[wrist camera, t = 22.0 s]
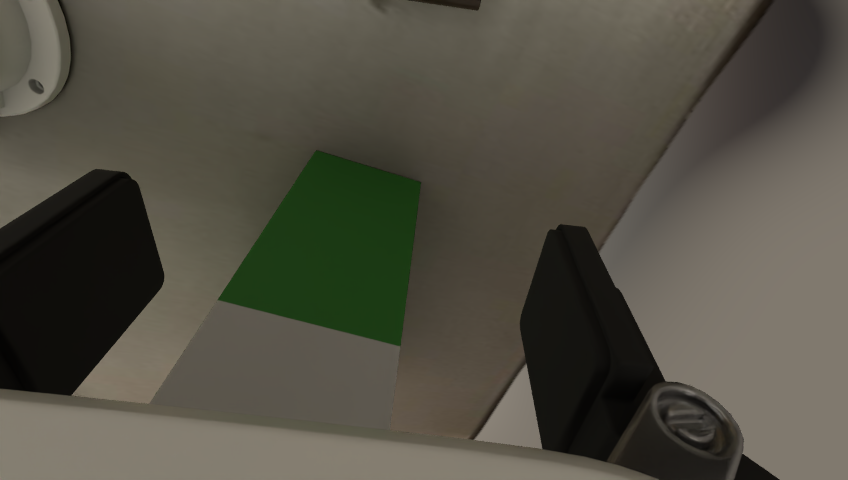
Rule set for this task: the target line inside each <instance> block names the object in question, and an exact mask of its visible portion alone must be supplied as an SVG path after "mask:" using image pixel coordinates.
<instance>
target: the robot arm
mask: <svg viewBox="0 0 848 480" xmlns="http://www.w3.org/2000/svg"><path fill="white" fill-rule="evenodd" d="M70 62H71V50H70V38H69V34H68V29H67V25H66V21H65V17H64V15H63V12H62V10H61V7H60V5H59V2H58V0H0V116H2V117H8V116H15V115H22V114H25V113H28V112H30V111H33V110H36V109H39V108H41V107H42V106H44V105H46V104H47V103H49V102H51V101H52V100H53V99H54V98H55V97H56V96H57V95H58V94H59V93H60V91H61V90H62V88H63V86H64V84H65V82H66V80H67V78H68V74H69V68H70ZM163 282H164V271H163V268H162V264H161V261H160V257H159V254H158V250H157V247H156V243H155V240H154V236H153V233H152V230H151V226H150V223H149V219H148V216H147V212H146V209H145V205H144V202H143V198H142V195H141V191H140V188H139V185H138V183H137V182H136V181H135V180H132V179H131V177H130V176H129V175H128V174H127V173H125V172H119V171H110V170H102V169H95V170H92V171H91V172H89V173H87V174H86V175H84V176H83V177H81V178H80V179H78V180H76V181H75V182H73V183H72V184H70V185H68V186H67V187H65V188H64V189H62V190H61V191H59V192H57V193H56V194H54V195H53V196H51V197H49V198H48V199H46V200H45V201H43V202H42V203H40V204H38V205H37V206H35V207H34V208H32V209H31V210H29V211H27V212H26V213H24V214H23V215H21V216H19V217H18V218H16V219H15V220H13V221H12V222H10V223H8V224H7V225H5V226H4V227H2V228H0V480H779V479H778V478H777V477H775V476H773V475H772V474H771V473H769V472H768V471H767V470H765V469H764V468H762V467H761V466H759V465H758V464H756V463H755V462H754V461H752V460H751V459H749V458H748V457H746V456H745V455H744V454H742V452H743V442H744V439H743V436H742V433H741V430H740V428H739V426H738V424H737V423H736V421H735V420H734V419H733V417H732V415H731V414H730V413H729V412H728V411H727V410H726V409H725V408H724V407H723V406H722V405H721V404H720V403H719V402H717V401H716V400H715V399H713V398H712V397H710V396H709V395H708V394H706V393H705V392H703V391H701V390H698V389H696V388H694V387H692V386H690V385H686V384H682V383H679V382H666V381H665V379H664V377H663V375H662V373H661V371H660V370H659V367H658V365H657V363H656V361H655V359H654V357H653V355H652V353H651V351H650V349H649V347H648V345H647V343H646V341H645V339H644V337H643V335H642V333H641V331H640V329H639V327H638V325H637V323H636V321H635V319H634V317H633V315H632V313H631V311H630V309H629V307H628V305H627V303H626V301H625V299H624V297H623V295H622V293H621V292H620V290H619V289H618V288H616V287H615V285H614V283H613V281H612V279H611V277H610V275H609V273H608V271H607V269H606V267H605V265H604V263H603V261H602V259H601V257H600V255H599V253H598V251H597V248H596V246H595V244H594V242H593V240H592V238H591V236H590V234H589V232H588V230H587V229H586V228H585V227H579V226H571V225H563V224H560V225H559V226H558V227H557V229H556V230H552V229H551V230H549V232H548V234H547V236H546V239H545V242H544V246H543V249H542V252H541V255H540V258H539V261H538V264H537V267H536V270H535V273H534V277H533V280H532V283H531V286H530V289H529V292H528V295H527V298H526V301H525V304H524V308H523V311H522V314H521V319H520V331H521V336H522V341H523V347H524V352H525V357H526V363H527V368H528V374H529V379H530V384H531V390H532V395H533V400H534V406H535V411H536V417H537V421H538V427H539V432H540V438H541V443H542V449H538V448H530V447H522V446H515V445H507V444H499V443H492V442H484V441H476V440H469V439H461V438H453V437H445V436H436V435H427V434H418V433H409V432H401V431H392V430H383V429H374V428H365V427H356V426H347V425H339V424H330V423H321V422H312V421H303V420H294V419H284V418H275V417H266V416H257V415H248V414H238V413H229V412H220V411H211V410H201V409H192V408H182V407H173V406H164V405H154V404H145V403H136V402H126V401H116V400H106V399H96V398H87V397H77V396H71V395H72V394H73V393H74V391H75V390H76V389H77V388H78V387H79V385H80V384H81V383H82V382H83V381H84V379H85V378H86V377H87V376H88V375H89V374H90V372H91V371H92V370H93V369H94V368H95V366H96V365H97V364H98V363H99V362H100V360H101V359H102V358H103V357H104V356H105V354H106V353H107V352H108V351H109V350H110V348H111V347H112V346H113V345H114V344H115V343H116V341H117V340H118V339H119V338H120V337H121V335H122V334H123V333H124V332H125V331H126V329H127V328H128V327H129V326H130V325H131V323H132V322H133V321H134V320H135V319H136V317H137V316H138V315H139V314H140V313H141V311H142V310H143V309H144V308H145V307H146V306H147V304H148V303H149V302H150V301H151V300H152V298H153V297H154V296H155V295H156V294H157V292H158V291H159V290H160V289H161V287H162V285H163Z"/></svg>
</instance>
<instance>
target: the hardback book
mask: <svg viewBox="0 0 848 480" xmlns="http://www.w3.org/2000/svg"><path fill="white" fill-rule="evenodd" d="M420 186H421V182H418V181H415V180H412V179H409V178H405V177H402V176H399V175H396V174H392V173H389V172H386V171H382V170H379V169H376V168H373V167H369V166H366V165H363V164H360V163H356V162H353V161H350V160H346V159H343V158H340V157H337V156H333V155H330V154H327V153H324V152H320V151H317V150H316V151H315V152H314V154H313V156H312V157H311V159H310V160H309V162H308V163H307V165H306V166H305V168H304V169H303V171H302V172H301V174H300V175H299V177H298V178H297V180H296V181H295V183H294V184H293V186H292V188H291V189H290V191H289V192H288V194H287V195H286V197H285V198H284V200H283V201H282V203H281V204H280V206H279V207H278V209H277V210H276V212H275V213H274V215H273V216H272V218H271V219H270V221H269V223H268V224H267V226H266V227H265V229H264V230H263V232H262V233H261V235H260V236H259V238H258V239H257V241H256V242H255V244H254V245H253V247H252V248H251V250H250V251H249V253H248V254H247V256H246V258H245V259H244V261H243V262H242V264H241V265H240V267H239V268H238V270H237V271H236V273H235V274H234V276H233V277H232V279H231V280H230V282H229V283H228V285H227V286H226V288H225V289H224V291H223V293H222V294H221V296H220V297H219V299H218V300H217V302H216V303H215V305H214V306H213V308H212V309H211V311H210V312H209V314H208V315H207V317H206V318H205V320H204V321H203V323H202V324H201V326H200V328H199V329H198V331H197V332H196V334H195V335H194V337H193V338H192V340H191V341H190V343H189V344H188V346H187V347H186V349H185V350H184V352H183V353H182V355H181V356H180V358H179V359H178V361H177V363H176V364H175V366H174V367H173V369H172V370H171V372H170V373H169V375H168V376H167V378H166V379H165V381H164V382H163V384H162V385H161V387H160V388H159V390H158V391H157V393H156V394H155V396H154V398H153V399H152V401H151V402H150V404H154V405H164V406H173V407H182V408H192V409H201V410H211V411H220V412H229V413H238V414H248V415H257V416H266V417H275V418H284V419H294V420H303V421H312V422H321V423H330V424H339V425H347V426H356V427H365V428H374V429H383V430H390V425H391V417H392V409H393V401H394V393H395V385H396V377H397V369H398V361H399V353H400V345H401V337H402V330H403V322H404V314H405V306H406V298H407V290H408V282H409V274H410V266H411V258H412V250H413V242H414V234H415V226H416V218H417V210H418V202H419V194H420Z"/></svg>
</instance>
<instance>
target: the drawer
mask: <svg viewBox="0 0 848 480" xmlns="http://www.w3.org/2000/svg"><path fill="white" fill-rule="evenodd" d="M409 1H416V2H423V3H429V4H436V5H443V6H450V7H457V8H463V9H470V10H479V7H480V3H481V0H409Z"/></svg>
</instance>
